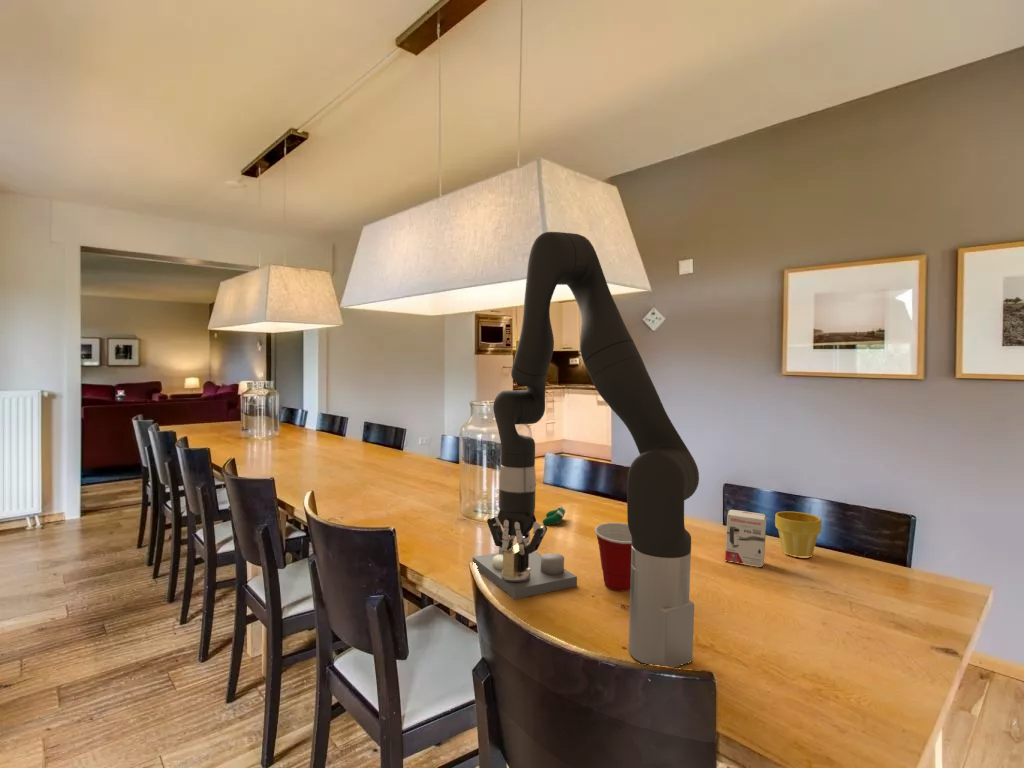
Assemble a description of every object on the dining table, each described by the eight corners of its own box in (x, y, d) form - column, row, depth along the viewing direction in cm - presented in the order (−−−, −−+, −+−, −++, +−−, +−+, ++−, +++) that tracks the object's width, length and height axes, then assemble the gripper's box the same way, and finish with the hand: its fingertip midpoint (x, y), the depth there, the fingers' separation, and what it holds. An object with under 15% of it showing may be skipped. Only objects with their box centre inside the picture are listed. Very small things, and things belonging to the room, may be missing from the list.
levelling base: (576, 585, 114) (577, 562, 114) (514, 599, 107) (515, 574, 107) (528, 555, 132) (529, 535, 131) (472, 565, 124) (472, 543, 124)
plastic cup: (606, 599, 108) (608, 539, 107) (584, 578, 118) (586, 524, 118) (655, 594, 111) (657, 536, 110) (629, 574, 121) (631, 521, 121)
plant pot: (764, 549, 140) (766, 511, 140) (797, 546, 143) (798, 509, 143) (795, 563, 130) (797, 523, 130) (830, 560, 133) (831, 520, 133)
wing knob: (521, 585, 108) (522, 555, 108) (495, 579, 111) (495, 550, 111) (536, 573, 114) (536, 545, 114) (510, 568, 117) (511, 540, 117)
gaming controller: (549, 532, 157) (564, 519, 156) (540, 522, 157) (555, 509, 156) (553, 523, 166) (568, 511, 165) (545, 514, 166) (559, 501, 165)
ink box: (724, 562, 130) (725, 513, 130) (726, 556, 134) (728, 509, 134) (763, 569, 126) (765, 519, 126) (764, 562, 130) (766, 514, 130)
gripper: (479, 485, 112) (477, 568, 113) (538, 494, 105) (536, 583, 105) (498, 479, 119) (497, 557, 119) (555, 487, 111) (553, 571, 112)
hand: (515, 569), depth 112 cm, fingers closed on wing knob, 2 cm apart
